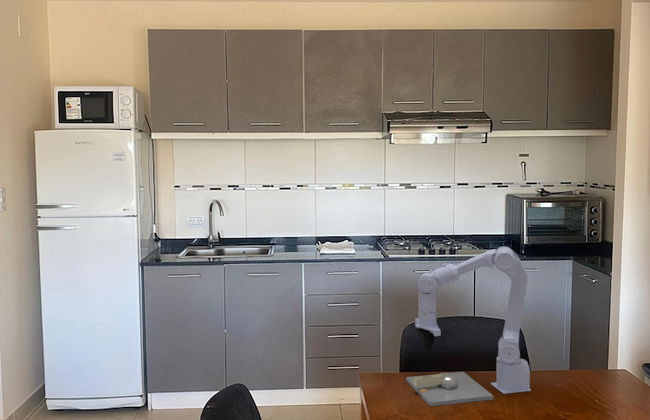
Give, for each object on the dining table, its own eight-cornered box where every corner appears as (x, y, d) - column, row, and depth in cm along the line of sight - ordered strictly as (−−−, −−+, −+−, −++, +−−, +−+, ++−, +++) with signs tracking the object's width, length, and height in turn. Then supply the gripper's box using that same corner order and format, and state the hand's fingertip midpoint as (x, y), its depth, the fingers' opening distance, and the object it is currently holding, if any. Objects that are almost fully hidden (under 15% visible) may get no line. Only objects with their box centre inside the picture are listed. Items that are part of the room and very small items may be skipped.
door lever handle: (451, 381, 174) (451, 369, 174) (461, 388, 168) (461, 376, 168) (411, 386, 170) (411, 374, 170) (419, 393, 165) (419, 382, 164)
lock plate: (463, 375, 182) (463, 370, 182) (493, 399, 163) (493, 394, 163) (406, 380, 178) (406, 376, 178) (429, 406, 159) (429, 401, 159)
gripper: (406, 306, 183) (406, 346, 184) (426, 317, 169) (426, 360, 170) (426, 304, 185) (426, 344, 186) (446, 315, 171) (446, 357, 172)
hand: (427, 351), depth 178 cm, fingers closed
